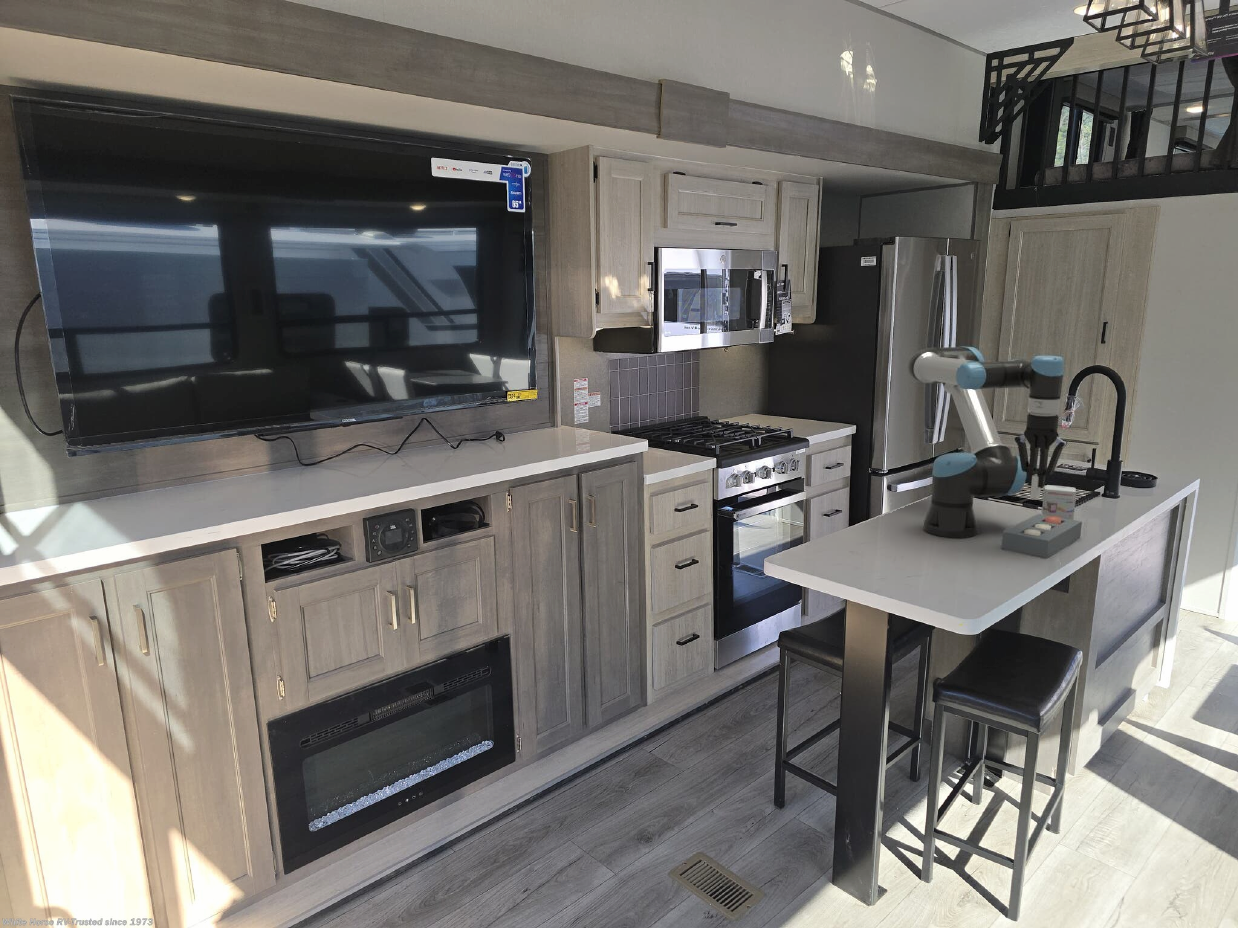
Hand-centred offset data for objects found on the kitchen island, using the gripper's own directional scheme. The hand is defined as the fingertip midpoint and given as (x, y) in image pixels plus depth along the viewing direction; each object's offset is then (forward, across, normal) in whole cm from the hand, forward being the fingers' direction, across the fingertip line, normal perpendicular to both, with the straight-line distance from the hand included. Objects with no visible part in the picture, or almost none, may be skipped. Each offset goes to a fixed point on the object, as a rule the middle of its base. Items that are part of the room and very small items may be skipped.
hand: (1034, 497), depth 217 cm
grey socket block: (+15, 0, +7) cm, 16 cm away
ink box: (+15, -3, +29) cm, 33 cm away
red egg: (+14, 0, +15) cm, 20 cm away
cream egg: (+14, 0, +7) cm, 16 cm away
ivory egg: (+14, 0, 0) cm, 14 cm away
